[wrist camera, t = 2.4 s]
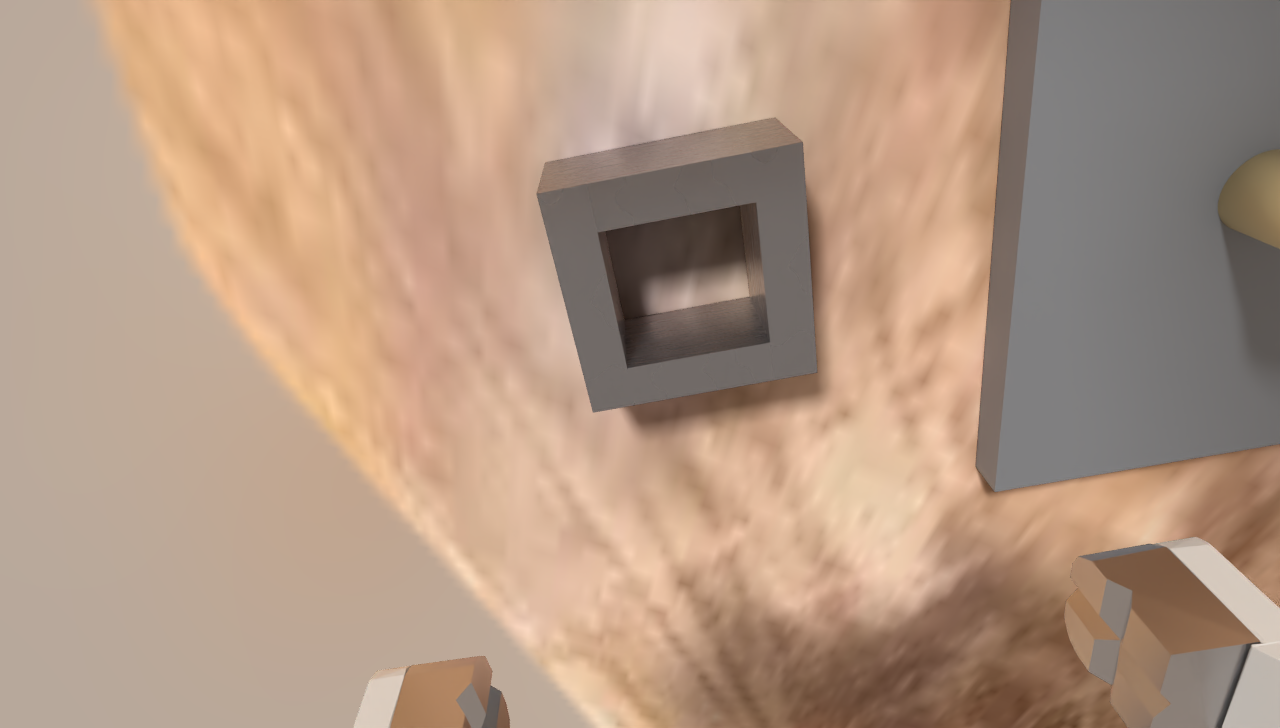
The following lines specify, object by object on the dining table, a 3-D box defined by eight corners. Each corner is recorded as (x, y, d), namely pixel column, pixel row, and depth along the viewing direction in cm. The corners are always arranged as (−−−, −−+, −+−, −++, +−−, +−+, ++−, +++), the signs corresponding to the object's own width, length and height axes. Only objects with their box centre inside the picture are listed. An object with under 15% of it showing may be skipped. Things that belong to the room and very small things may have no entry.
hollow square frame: (545, 162, 21) (536, 193, 18) (775, 117, 20) (802, 141, 17) (594, 360, 24) (593, 412, 21) (791, 324, 24) (817, 372, 21)
